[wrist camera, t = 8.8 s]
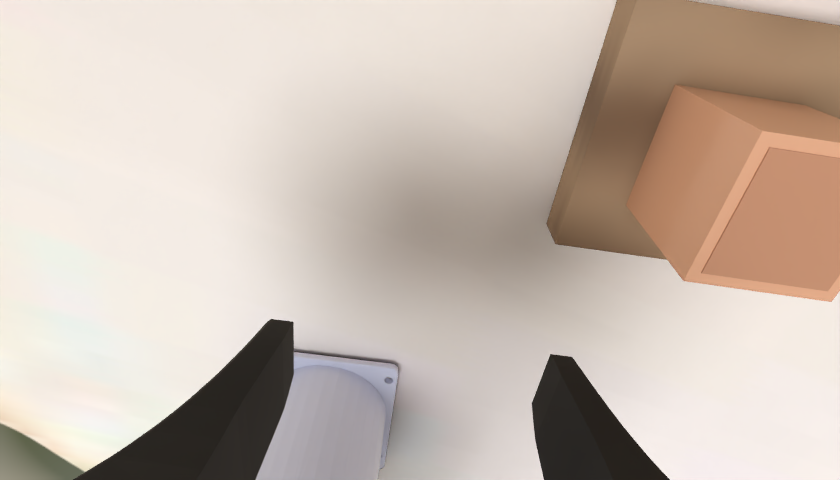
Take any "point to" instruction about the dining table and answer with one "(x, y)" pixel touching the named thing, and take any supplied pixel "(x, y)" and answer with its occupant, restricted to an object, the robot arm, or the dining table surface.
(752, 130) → the terracotta block
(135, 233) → the dining table surface
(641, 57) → the walnut board
